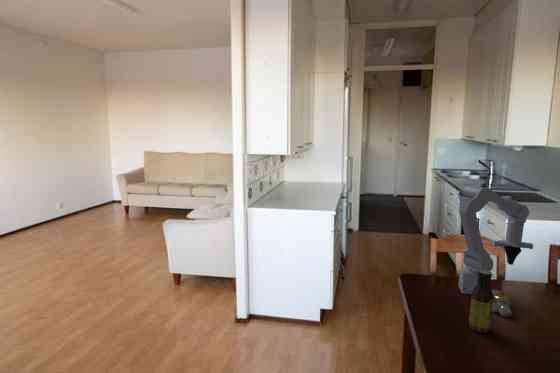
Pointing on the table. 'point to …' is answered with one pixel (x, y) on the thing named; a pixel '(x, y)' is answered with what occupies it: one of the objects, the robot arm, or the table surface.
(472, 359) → the table surface
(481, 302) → the sauce bottle
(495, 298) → the coupling
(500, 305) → the valve body
